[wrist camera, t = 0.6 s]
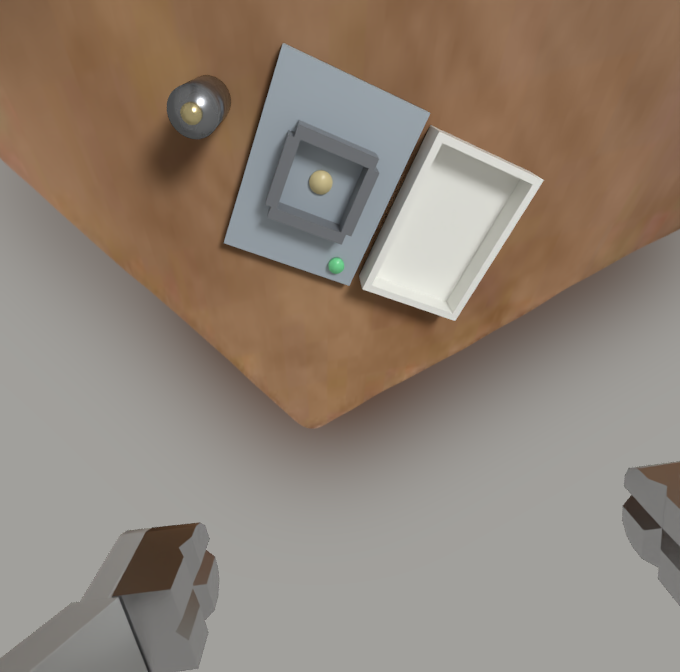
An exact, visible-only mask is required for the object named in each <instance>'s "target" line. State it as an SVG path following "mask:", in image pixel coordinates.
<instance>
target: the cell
mask: <svg viewBox="0 0 680 672" xmlns="http://www.w3.org/2000/svg"><path fill="white" fill-rule="evenodd" d="M230 106H231V97H230V93H229V91H228V89H227V87H226V86H225V84H224V83H223V82H222V81H221V80H219V79H218V78H216V77H213V76H210V75H203V76H200V77H197V78H195V79H193V80H191V81H189V82H187V83H185V84H183V85H181V86H179V87H177V88H176V89H174V90H173V91H172V93H171V94H170V96H169V98H168V101H167V113H168V117H169V120H170V122H171V124H172V125H173V127H174V128H175V129H176V130H177V131H178V132H179V133H180V134H182V135H183V136H185V137H188V138H191V139H202V138H205V137H207V136H209V135H210V134H211V133H212V132H213V131H214V130H215V129H216V127H217V126H218V125H219V124H220V123H221V121H222V120H223V119H224V118H225V117H226V115H227V114H228V112H229V110H230Z"/></svg>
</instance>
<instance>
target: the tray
mask: <svg viewBox="0 0 680 672" xmlns="http://www.w3.org/2000/svg"><path fill="white" fill-rule="evenodd" d="M543 181H544V180H543V179H541V178H540V177H538V176H536V175H535V174H533V173H532V172H530V171H528V170H526V169H524V168H521V167H519V166H517V165H515V164H513V163H511V162H509V161H506V160H504V159H502V158H500V157H498V156H496V155H494V154H491V153H489V152H487V151H485V150H483V149H481V148H479V147H476V146H474V145H472V144H470V143H468V142H466V141H464V140H461V139H459V138H457V137H455V136H453V135H451V134H449V133H447V132H444V131H442V130H440V129H438V128H436V127H434V126H432V125H430V127H429V129H428V132H427V134H426V136H425V138H424V140H423V142H422V144H421V146H420V148H419V151H418V153H417V155H416V157H415V159H414V161H413V163H412V165H411V167H410V169H409V172H408V174H407V176H406V178H405V180H404V182H403V184H402V186H401V188H400V190H399V193H398V195H397V197H396V199H395V201H394V203H393V205H392V207H391V209H390V212H389V214H388V216H387V218H386V220H385V222H384V224H383V226H382V228H381V230H380V233H379V235H378V237H377V239H376V241H375V243H374V245H373V247H372V249H371V251H370V254H369V256H368V258H367V260H366V262H365V264H364V266H363V268H362V270H361V272H360V275H359V278H360V282H361V286H362V289H363V290H366V291H369V292H372V293H375V294H378V295H381V296H383V297H386V298H389V299H392V300H395V301H398V302H401V303H404V304H407V305H410V306H413V307H416V308H419V309H422V310H425V311H427V312H430V313H433V314H436V315H439V316H442V317H445V318H448V319H451V320H454V321H455V320H456V319H457V317H458V316H459V314H460V312H461V311H462V309H463V308H464V306H465V304H466V303H467V301H468V300H469V298H470V296H471V295H472V293H473V292H474V290H475V289H476V287H477V285H478V284H479V282H480V281H481V279H482V277H483V276H484V274H485V273H486V271H487V269H488V268H489V266H490V265H491V263H492V262H493V260H494V258H495V257H496V255H497V254H498V252H499V250H500V249H501V247H502V246H503V244H504V243H505V241H506V239H507V238H508V236H509V235H510V233H511V231H512V230H513V228H514V227H515V225H516V223H517V222H518V220H519V219H520V217H521V216H522V214H523V212H524V211H525V209H526V208H527V206H528V204H529V203H530V201H531V200H532V198H533V196H534V195H535V193H536V192H537V190H538V189H539V187H540V185H541V184H542V182H543Z"/></svg>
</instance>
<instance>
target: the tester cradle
mask: <svg viewBox="0 0 680 672" xmlns="http://www.w3.org/2000/svg"><path fill="white" fill-rule="evenodd" d="M429 115H430V113H429V112H428V111H426V110H424V109H422V108H420V107H417V106H415V105H413V104H411V103H409V102H407V101H405V100H403V99H401V98H398V97H396V96H394V95H392V94H390V93H388V92H386V91H384V90H382V89H380V88H377V87H375V86H373V85H371V84H369V83H367V82H365V81H363V80H361V79H359V78H356V77H354V76H352V75H350V74H348V73H346V72H344V71H342V70H340V69H337V68H335V67H333V66H331V65H329V64H327V63H325V62H323V61H321V60H319V59H316V58H314V57H312V56H310V55H308V54H306V53H304V52H302V51H300V50H298V49H295V48H293V47H291V46H289V45H287V44H285V43H283V44H282V48H281V51H280V54H279V58H278V61H277V65H276V68H275V71H274V75H273V78H272V81H271V85H270V88H269V92H268V95H267V98H266V102H265V105H264V109H263V112H262V115H261V119H260V122H259V125H258V129H257V132H256V136H255V139H254V142H253V146H252V149H251V152H250V156H249V159H248V163H247V166H246V169H245V173H244V176H243V180H242V183H241V186H240V190H239V193H238V196H237V200H236V203H235V207H234V210H233V213H232V217H231V220H230V223H229V227H228V230H227V234H226V237H225V240H224V243H225V244H228V245H231V246H234V247H237V248H240V249H242V250H245V251H248V252H251V253H254V254H257V255H260V256H263V257H266V258H269V259H272V260H275V261H278V262H281V263H284V264H287V265H290V266H292V267H295V268H298V269H301V270H304V271H307V272H310V273H313V274H316V275H319V276H322V277H325V278H328V279H331V280H334V281H337V282H339V283H342V284H345V285H348V286H349V285H350V283H351V281H352V279H353V277H354V275H355V273H356V270H357V268H358V266H359V264H360V262H361V260H362V258H363V255H364V253H365V251H366V249H367V247H368V245H369V243H370V241H371V238H372V236H373V234H374V232H375V230H376V228H377V226H378V224H379V221H380V219H381V217H382V215H383V213H384V211H385V209H386V206H387V204H388V202H389V200H390V198H391V196H392V194H393V192H394V189H395V187H396V185H397V183H398V181H399V179H400V177H401V175H402V172H403V170H404V168H405V166H406V164H407V162H408V160H409V157H410V155H411V153H412V151H413V149H414V147H415V145H416V143H417V140H418V138H419V136H420V134H421V132H422V130H423V128H424V126H425V123H426V121H427V119H428V117H429Z"/></svg>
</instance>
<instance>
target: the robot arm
mask: <svg viewBox="0 0 680 672" xmlns="http://www.w3.org/2000/svg"><path fill="white" fill-rule="evenodd" d="M624 487H625V488H626V489H627V490H628V491H629V493H630V494H631V496H630V498H629V499H628V500H627V501H626V502H625V504H624V505H623V513H622V516H623V517H622V521H623V525H624V528H625V532H626V535H627V537H628V539H629V541H630V543H631V545H632V547H633V548H634V549H635V551H636V552H637V553H638V555H639V556H640V557H641V558H642V559H643V560H645V561H647V562H649V563H651V564H653V565H655V566H657V567H658V580H659V581H660V582H661V583H662V584H663V586H664V587H665V588H666V590H667V591H668V592H669V593H670V594H671V596H672V597H673V598H674V599H675V601H676V602H677V603H678V604H679V605H680V461H677V462H670V463H662V464H655V465H648V466H640V467H632V468H628V470H627V472H626V474H625V480H624ZM208 542H209V536H208V533H207V530H206V527H205V525H204V524H202V523H191V524H182V525H172V526H163V527H153V528H147V529H138V530H128V531H126V532H124V533H123V534H121V535H120V536H119V538H118V539H117V541H116V543H115V544H114V546H113V548H112V549H111V551H110V553H109V554H108V556H107V558H106V559H105V561H104V563H103V564H102V566H101V567H100V569H99V571H98V572H97V574H96V576H95V577H94V579H93V581H92V582H91V584H90V586H89V587H88V589H87V591H86V593H85V594H84V596H83V597H82V599H81V601H80V602H74V603H71V604H69V605H68V606H67V607H66V608H64V609H63V610H62V611H60V612H59V613H58V614H57V615H55V616H54V617H53V618H51V619H50V620H49V621H48V622H47V623H45V624H44V625H42V627H40V628H39V629H37V630H36V631H35V632H33V633H32V634H31V635H30V636H28V637H27V638H26V639H24V640H23V641H22V642H21V643H19V644H18V645H17V646H15V647H14V648H13V649H12V650H10V651H9V652H8V653H6V654H5V655H4V656H3V657H1V658H0V672H178V671H185V670H192V669H198V668H199V664H200V661H201V657H202V654H203V650H204V646H205V643H206V639H207V636H208V629H207V626H206V623H205V620H206V619H207V618H208V617H209V616H210V614H211V613H212V612H213V611H214V610H215V606H216V603H217V599H218V590H219V572H218V566H217V562H216V559H215V556H213V555H212V554H211V553H209V552H208V551H207V550H206V548H207V545H208Z"/></svg>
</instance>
